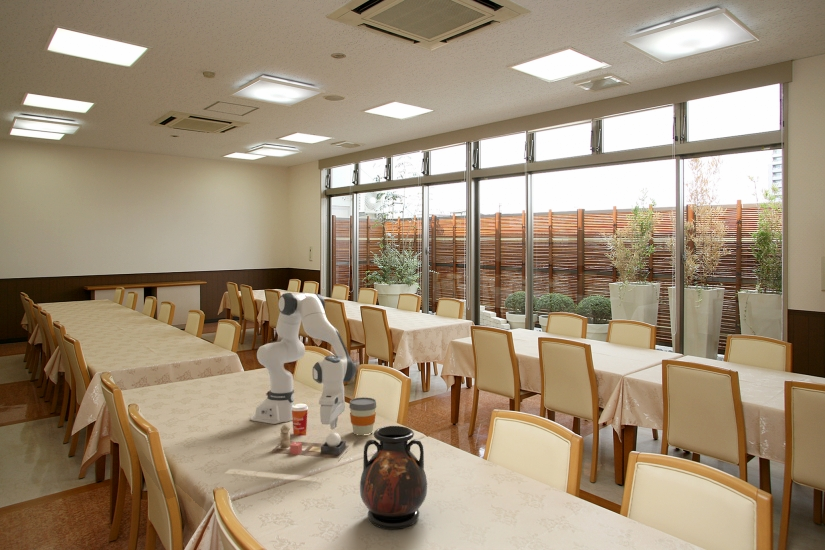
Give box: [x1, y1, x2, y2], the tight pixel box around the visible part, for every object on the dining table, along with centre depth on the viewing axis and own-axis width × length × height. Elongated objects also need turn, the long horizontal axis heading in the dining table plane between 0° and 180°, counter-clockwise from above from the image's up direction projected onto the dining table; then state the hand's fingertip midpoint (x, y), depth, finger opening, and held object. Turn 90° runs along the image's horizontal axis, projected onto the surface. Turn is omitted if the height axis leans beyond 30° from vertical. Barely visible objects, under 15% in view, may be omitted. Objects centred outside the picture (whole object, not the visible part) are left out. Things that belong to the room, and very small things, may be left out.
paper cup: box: [291, 403, 309, 436], centre depth 245 cm, size 8×8×14 cm
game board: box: [268, 440, 349, 463], centre depth 225 cm, size 30×14×4 cm, turn 79°
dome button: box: [325, 431, 342, 447], centre depth 223 cm, size 6×6×6 cm
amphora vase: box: [359, 425, 428, 530], centre depth 170 cm, size 22×22×28 cm
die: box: [289, 441, 302, 456], centre depth 221 cm, size 4×4×4 cm
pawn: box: [279, 424, 291, 448], centre depth 227 cm, size 4×4×9 cm
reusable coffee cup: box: [348, 396, 377, 435], centre depth 249 cm, size 13×12×15 cm
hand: (333, 428), depth 223 cm, fingers closed
